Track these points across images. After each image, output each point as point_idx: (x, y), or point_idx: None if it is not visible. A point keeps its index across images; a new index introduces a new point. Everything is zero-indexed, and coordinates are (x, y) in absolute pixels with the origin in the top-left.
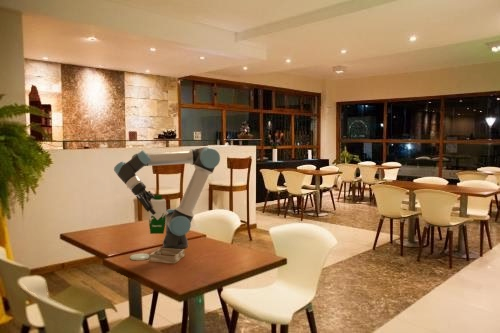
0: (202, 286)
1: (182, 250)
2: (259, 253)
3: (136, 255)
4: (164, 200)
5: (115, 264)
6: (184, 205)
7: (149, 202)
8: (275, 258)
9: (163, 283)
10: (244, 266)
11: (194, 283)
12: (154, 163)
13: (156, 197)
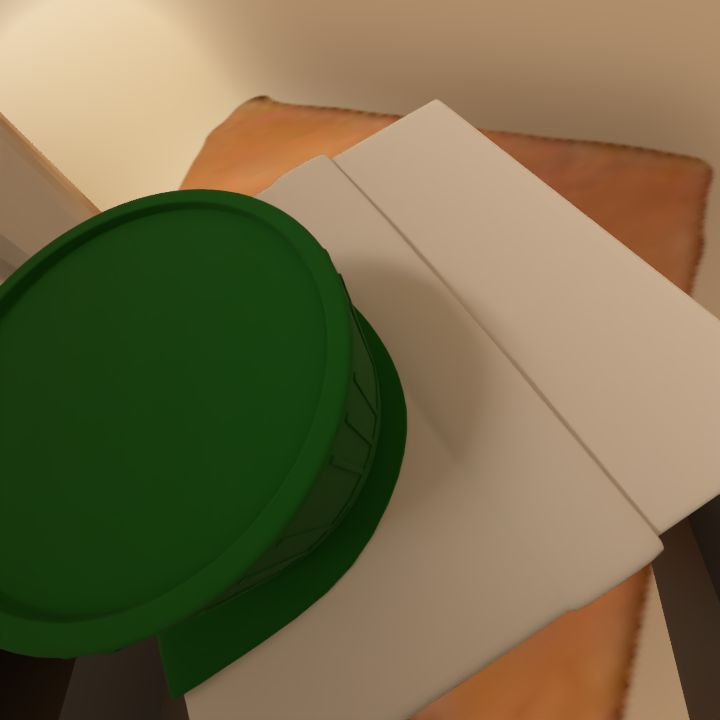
0: (605, 146)
1: None
2: (209, 163)
3: None
4: (360, 149)
5: (634, 646)
6: (61, 209)
7: (709, 528)
8: (249, 113)
9: (677, 253)
10: (359, 141)
11: (598, 175)
12: None
13: (367, 361)
